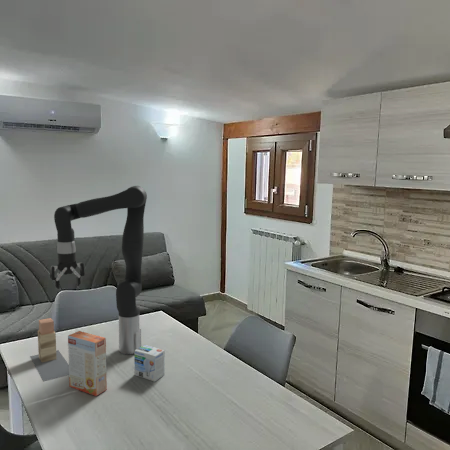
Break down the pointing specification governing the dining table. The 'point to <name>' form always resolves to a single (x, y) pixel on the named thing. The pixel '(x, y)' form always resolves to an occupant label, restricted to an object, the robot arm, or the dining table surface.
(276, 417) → the dining table surface
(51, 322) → the terracotta cube
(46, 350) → the tower base
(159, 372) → the light bulb box
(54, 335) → the tower mid
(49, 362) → the rubber mat
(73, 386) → the cracker box
